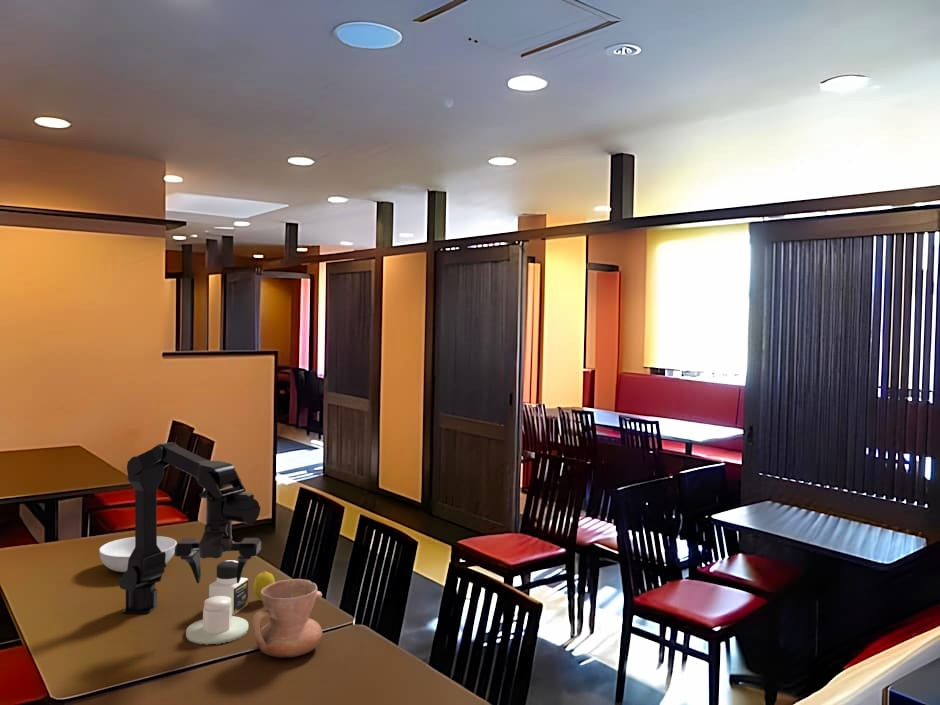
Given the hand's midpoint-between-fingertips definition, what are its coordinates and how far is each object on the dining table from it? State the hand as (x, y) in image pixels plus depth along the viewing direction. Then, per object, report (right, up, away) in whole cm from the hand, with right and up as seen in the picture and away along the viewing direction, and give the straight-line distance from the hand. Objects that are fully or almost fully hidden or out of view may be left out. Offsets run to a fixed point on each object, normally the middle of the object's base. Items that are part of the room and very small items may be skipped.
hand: (218, 582), depth 171 cm
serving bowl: (-39, -10, +43) cm, 58 cm away
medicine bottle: (-2, -12, +14) cm, 19 cm away
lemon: (+5, -11, +20) cm, 24 cm away
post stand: (0, -12, +1) cm, 12 cm away
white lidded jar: (0, -11, 0) cm, 11 cm away
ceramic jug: (+18, -13, -8) cm, 24 cm away
